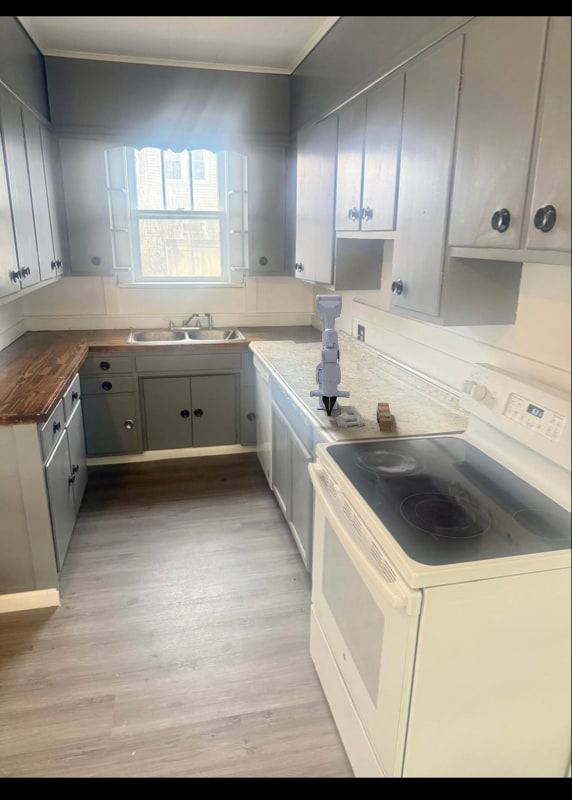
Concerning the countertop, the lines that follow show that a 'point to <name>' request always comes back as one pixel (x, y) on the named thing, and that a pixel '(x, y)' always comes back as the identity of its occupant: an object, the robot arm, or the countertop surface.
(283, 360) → the countertop surface
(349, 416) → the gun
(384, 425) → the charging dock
